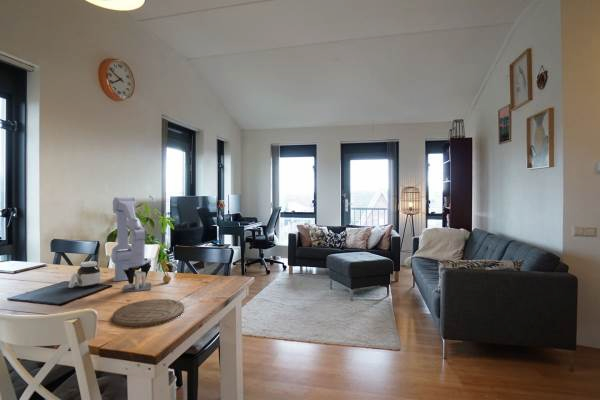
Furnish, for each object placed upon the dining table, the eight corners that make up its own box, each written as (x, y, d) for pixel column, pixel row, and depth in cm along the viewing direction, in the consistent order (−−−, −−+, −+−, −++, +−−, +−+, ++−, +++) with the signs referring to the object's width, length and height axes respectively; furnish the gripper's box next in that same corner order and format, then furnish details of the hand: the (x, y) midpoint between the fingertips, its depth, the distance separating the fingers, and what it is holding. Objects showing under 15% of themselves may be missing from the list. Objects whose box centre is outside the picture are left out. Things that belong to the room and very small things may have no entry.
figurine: (162, 284, 160) (162, 261, 160) (154, 283, 163) (155, 260, 163) (176, 281, 167) (176, 259, 167) (169, 279, 170) (169, 257, 170)
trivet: (131, 303, 134) (131, 298, 134) (191, 303, 135) (191, 299, 135) (98, 328, 109) (98, 322, 109) (171, 327, 111) (171, 322, 111)
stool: (128, 287, 153) (128, 273, 152) (137, 285, 157) (137, 271, 157) (136, 289, 151) (137, 274, 151) (145, 286, 156) (145, 272, 156)
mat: (124, 285, 157) (124, 284, 157) (151, 283, 162) (151, 282, 162) (122, 292, 146) (122, 291, 146) (150, 290, 151) (150, 289, 151)
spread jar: (102, 285, 157) (103, 262, 156) (78, 291, 146) (79, 266, 146) (87, 282, 162) (88, 259, 161) (63, 287, 151) (64, 263, 151)
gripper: (131, 256, 146) (131, 286, 146) (155, 251, 159) (155, 278, 159) (120, 255, 148) (119, 284, 148) (145, 250, 162) (144, 276, 162)
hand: (137, 281), depth 154 cm, fingers open, 7 cm apart
